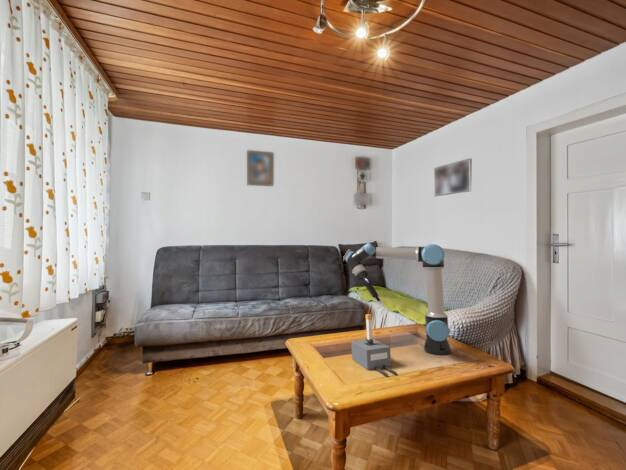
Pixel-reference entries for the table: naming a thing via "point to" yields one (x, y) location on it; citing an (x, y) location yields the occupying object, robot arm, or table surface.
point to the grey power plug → (372, 355)
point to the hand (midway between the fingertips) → (382, 306)
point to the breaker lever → (369, 328)
